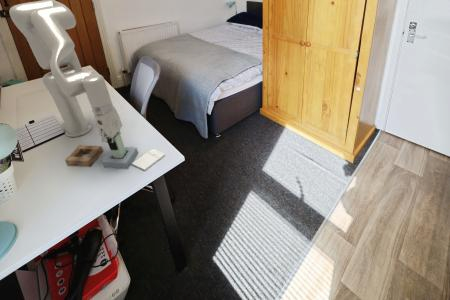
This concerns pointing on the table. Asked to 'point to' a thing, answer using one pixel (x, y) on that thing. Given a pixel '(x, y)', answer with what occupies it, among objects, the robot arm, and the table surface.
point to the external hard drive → (148, 159)
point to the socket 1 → (88, 161)
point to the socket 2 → (120, 163)
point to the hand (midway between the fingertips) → (116, 146)
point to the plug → (120, 146)
